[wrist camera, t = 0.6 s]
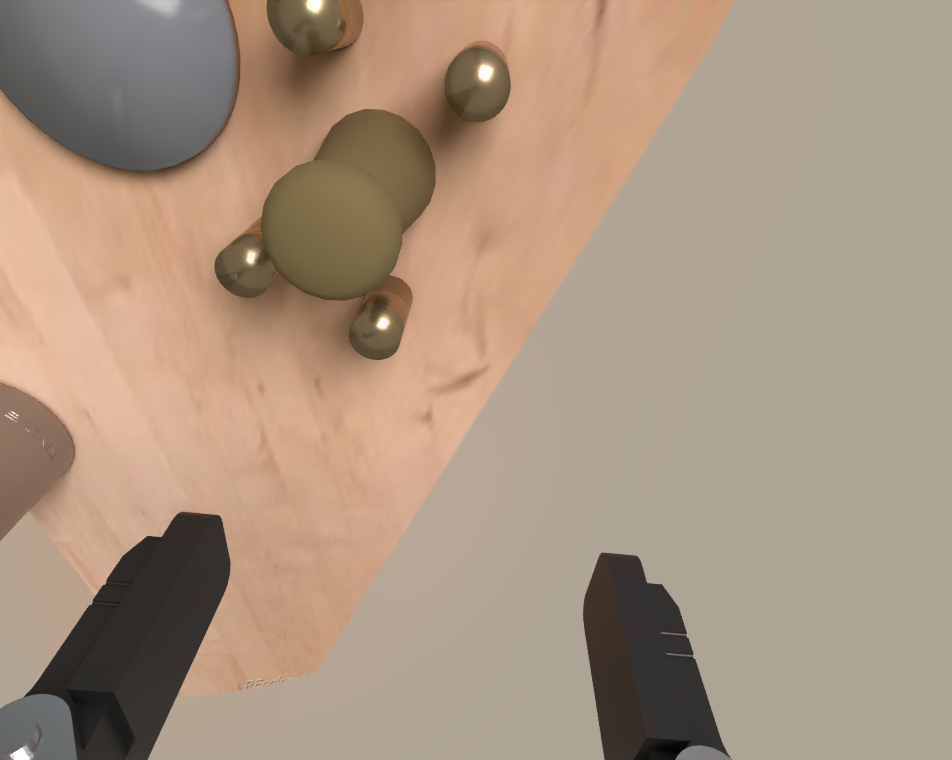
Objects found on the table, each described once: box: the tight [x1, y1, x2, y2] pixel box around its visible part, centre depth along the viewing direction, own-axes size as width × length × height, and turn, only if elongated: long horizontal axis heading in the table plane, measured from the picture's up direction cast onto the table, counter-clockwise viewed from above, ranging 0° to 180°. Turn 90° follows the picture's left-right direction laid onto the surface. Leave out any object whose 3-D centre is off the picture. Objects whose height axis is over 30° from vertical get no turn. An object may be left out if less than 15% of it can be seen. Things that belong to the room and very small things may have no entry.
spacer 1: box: [215, 217, 280, 298], centre depth 29 cm, size 3×3×5 cm
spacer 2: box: [267, 0, 363, 55], centre depth 23 cm, size 3×3×5 cm
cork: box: [261, 109, 435, 301], centre depth 24 cm, size 6×6×11 cm
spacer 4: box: [445, 41, 510, 122], centre depth 24 cm, size 3×3×5 cm
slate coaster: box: [0, 0, 240, 171], centre depth 25 cm, size 12×12×1 cm
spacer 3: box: [349, 276, 413, 360], centre depth 31 cm, size 3×3×5 cm
